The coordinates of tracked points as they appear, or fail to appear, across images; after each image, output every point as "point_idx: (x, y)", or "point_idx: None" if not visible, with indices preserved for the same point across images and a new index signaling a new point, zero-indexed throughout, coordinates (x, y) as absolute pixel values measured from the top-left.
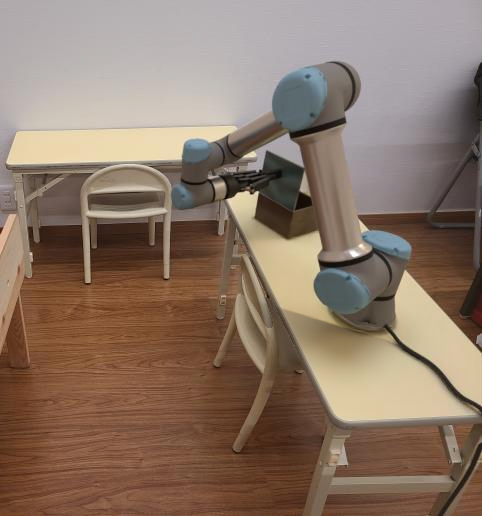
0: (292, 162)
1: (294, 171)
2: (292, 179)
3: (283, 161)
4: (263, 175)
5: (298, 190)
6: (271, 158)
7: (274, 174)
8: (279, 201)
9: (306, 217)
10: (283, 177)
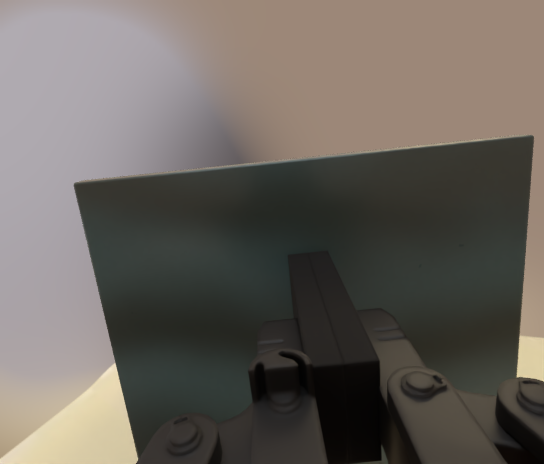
0: (395, 148)
1: (448, 203)
2: (446, 270)
3: (305, 182)
4: (422, 414)
5: (519, 316)
6: (165, 220)
7: (364, 311)
8: (373, 462)
9: None
10: (352, 298)
